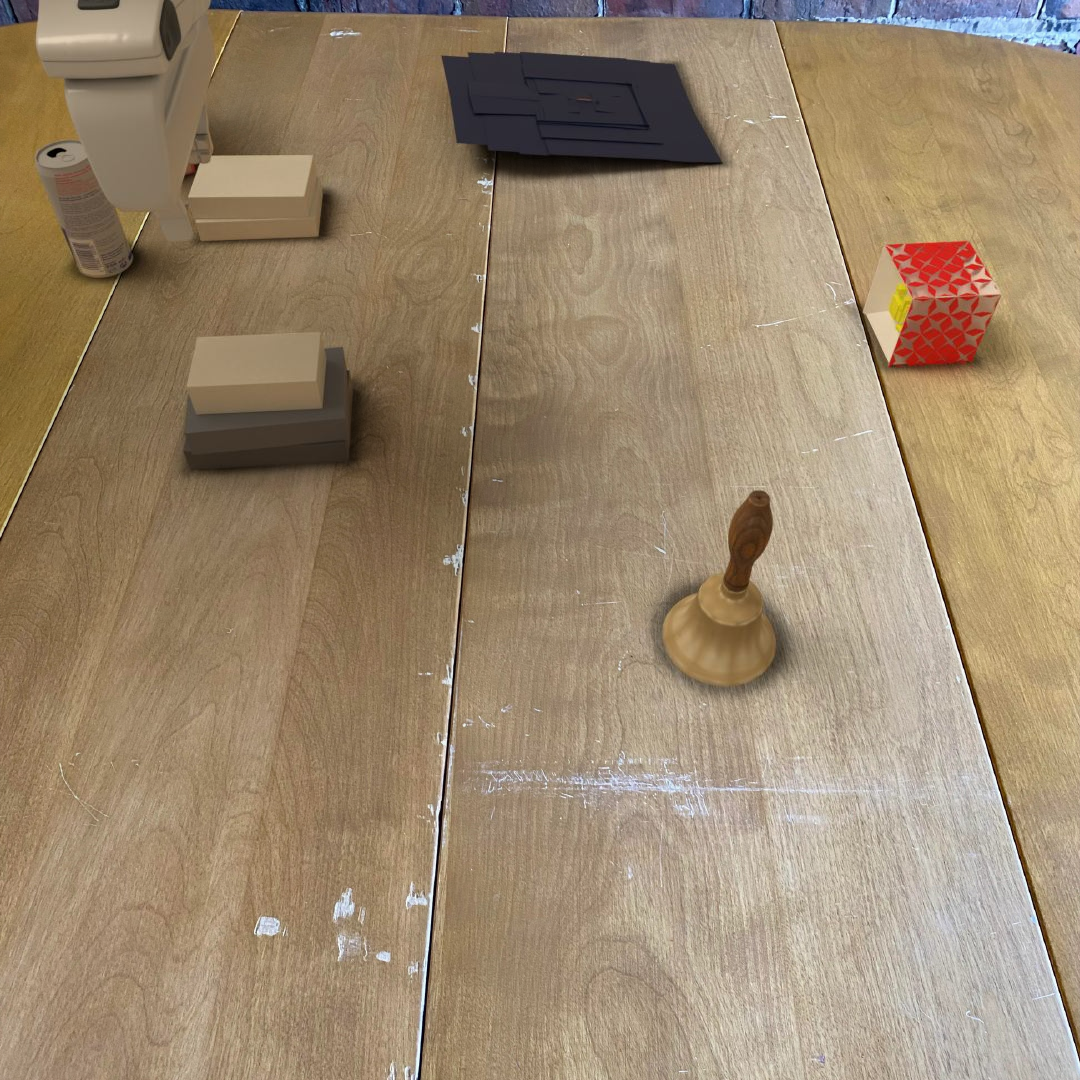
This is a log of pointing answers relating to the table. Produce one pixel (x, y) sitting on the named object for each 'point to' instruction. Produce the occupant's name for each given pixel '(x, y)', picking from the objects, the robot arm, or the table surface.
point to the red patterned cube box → (930, 302)
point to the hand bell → (727, 610)
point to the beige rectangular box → (257, 197)
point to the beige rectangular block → (257, 373)
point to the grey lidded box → (276, 429)
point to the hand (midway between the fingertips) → (191, 195)
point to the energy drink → (83, 210)
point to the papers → (574, 106)
